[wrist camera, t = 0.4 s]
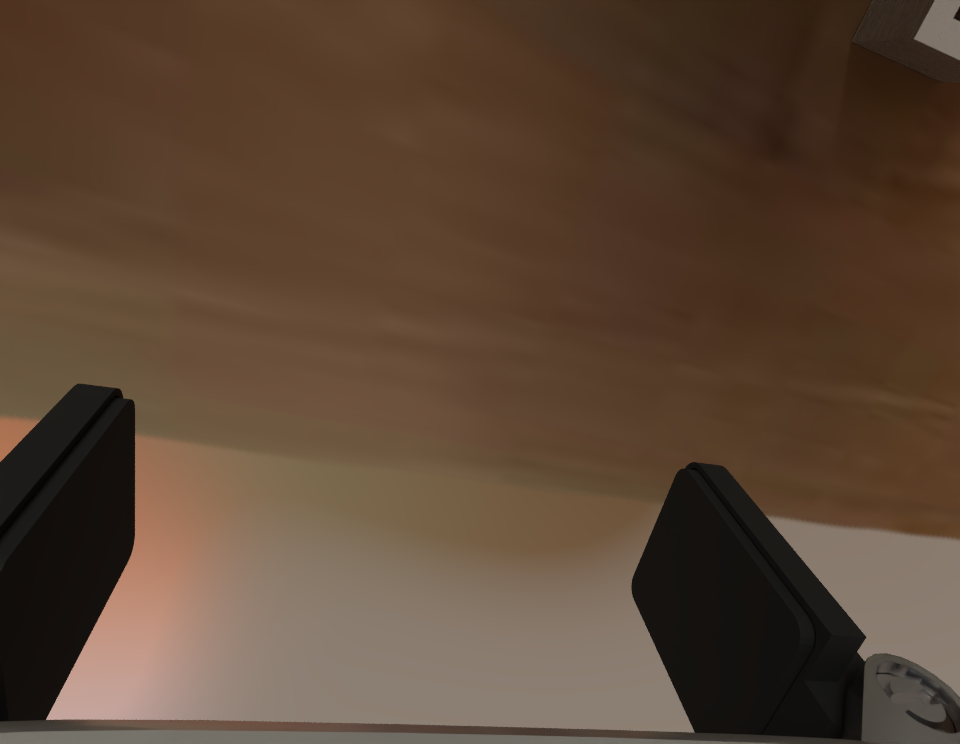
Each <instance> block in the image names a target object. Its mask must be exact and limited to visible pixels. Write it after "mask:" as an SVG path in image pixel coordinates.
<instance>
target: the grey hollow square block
mask: <svg viewBox="0 0 960 744" xmlns="http://www.w3.org/2000/svg"><path fill="white" fill-rule="evenodd" d="M958 8H959V9H958ZM957 10H958V11H957ZM956 12H957V13H956ZM953 17H954V18H953ZM851 42H853V43H855V44H858V45H860V46H862V47H864V48H866V49H869V50H871V51H873V52H875V53H877V54H880V55H882V56H884V57H886V58H888V59H891V60H893V61H895V62H897V63H900V64H902V65H904V66H906V67H908V68H911V69H913V70H915V71H917V72H919V73H922V74H924V75H926V76H928V77H931V78H933V79H935V80H937V81H939V82H945V83H960V0H872V1H871V3H870V5H869V7H868V9H867V11H866V13H865V15H864V17H863V19H862V21H861V23H860V25H859V27H858V29H857V31H856V33H855V35H854V37H853V39H852V41H851Z"/></svg>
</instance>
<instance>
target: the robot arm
mask: <svg viewBox="0 0 960 744" xmlns="http://www.w3.org/2000/svg"><path fill="white" fill-rule="evenodd" d="M134 538H135V405H134V401H133V400H131V399H123V395H122V391H121V390H120V389H118V388H110V387H102V386H94V385H87V384H77V385H75V386H74V387H73V388H72V389H71V390H70V391H69V392H68V393H67V394H66V395H65V396H64V397H63V398H62V399H61V400H60V401H59V402H58V403H57V404H56V405H55V406H54V407H53V408H52V409H51V410H50V411H49V413H48V414H47V415H46V416H45V417H44V418H43V419H42V420H41V421H40V422H39V423H38V424H37V425H36V426H35V427H34V428H33V429H32V430H31V431H30V432H29V433H28V434H27V435H26V436H25V437H24V438H23V439H22V441H21V442H19V443H18V445H17V446H16V447H15V448H14V449H13V450H12V451H11V452H10V453H9V454H8V455H7V456H6V457H5V458H4V459H3V460H2V461H1V462H0V744H960V697H959V696H958V695H957V694H956V693H955V692H954V691H953V690H952V689H951V688H950V687H949V686H948V685H947V684H946V683H944V682H943V681H942V680H940V679H939V678H938V677H937V676H935V675H934V674H932V673H931V672H929V671H928V670H926V669H924V668H923V667H921V666H919V665H918V664H916V663H913V662H911V661H909V660H907V659H904V658H902V657H899V656H895V655H890V654H874V655H872V656H870V657H868V658H867V660H866V661H864V660H863V659H862V658H861V657H860V655H859V654H858V653H857V651H858V649H859V648H860V646H861V645H862V643H863V641H864V640H865V639H866V636H865V635H864V634H863V632H861V630H860V629H859V628H858V626H857V625H856V624H855V623H854V622H853V620H852V619H851V618H850V617H849V616H848V615H847V613H846V612H845V611H844V610H843V609H842V607H841V606H840V605H839V604H838V602H837V601H836V600H835V599H834V598H833V597H832V595H831V594H830V593H829V592H828V590H827V589H826V588H825V587H824V586H823V584H822V583H821V582H820V581H819V580H818V578H817V577H816V576H815V575H814V574H813V573H812V571H811V570H810V569H809V568H808V566H807V565H806V564H805V563H804V562H803V560H802V559H801V558H800V557H799V556H798V555H797V553H796V552H795V551H794V550H793V548H792V547H791V546H790V545H789V544H788V542H787V541H786V540H785V539H784V538H783V536H782V535H781V534H780V533H779V532H778V531H777V529H776V528H775V527H774V526H773V524H772V523H771V522H770V521H769V520H768V518H767V517H766V516H765V515H764V514H763V512H762V511H761V510H760V509H759V508H758V506H757V505H756V504H755V503H754V502H753V500H752V499H751V498H750V497H749V496H748V494H747V493H746V492H745V491H744V490H743V488H742V487H741V486H740V485H739V484H738V482H737V481H736V480H735V479H734V478H733V476H732V475H731V474H730V473H729V472H728V470H727V469H726V468H724V467H723V466H719V465H712V464H704V463H696V462H692V463H690V464H689V465H688V466H686V468H685V469H680V470H679V471H678V472H677V474H676V476H675V478H674V481H673V483H672V486H671V488H670V490H669V493H668V495H667V497H666V500H665V502H664V505H663V507H662V509H661V512H660V514H659V516H658V519H657V521H656V524H655V526H654V529H653V531H652V533H651V535H650V538H649V540H648V543H647V545H646V547H645V550H644V552H643V555H642V557H641V559H640V562H639V564H638V566H637V569H636V571H635V573H634V576H633V579H632V595H633V598H634V601H635V603H636V605H637V607H638V609H639V612H640V614H641V616H642V618H643V620H644V622H645V625H646V627H647V629H648V631H649V633H650V636H651V638H652V640H653V642H654V644H655V646H656V649H657V651H658V653H659V655H660V657H661V659H662V662H663V664H664V666H665V668H666V670H667V673H668V675H669V677H670V679H671V681H672V684H673V686H674V688H675V690H676V692H677V694H678V696H679V699H680V701H681V703H682V705H683V707H684V710H685V712H686V714H687V716H688V718H689V721H690V723H691V725H692V727H693V729H694V732H695V733H686V732H657V731H656V732H655V731H627V730H593V729H591V730H590V729H557V728H522V727H483V726H445V725H407V724H359V723H312V722H263V721H261V722H260V721H216V720H211V721H210V720H46V718H47V716H48V714H49V712H50V711H51V708H52V707H53V705H54V703H55V701H56V699H57V697H58V695H59V693H60V691H61V689H62V688H63V686H64V684H65V682H66V680H67V678H68V676H69V674H70V672H71V670H72V668H73V666H74V664H75V663H76V660H77V659H78V657H79V655H80V653H81V651H82V649H83V647H84V645H85V643H86V641H87V639H88V637H89V636H90V634H91V631H92V630H93V628H94V626H95V624H96V622H97V620H98V618H99V616H100V614H101V612H102V610H103V609H104V607H105V605H106V603H107V601H108V599H109V597H110V595H111V593H112V591H113V589H114V588H115V586H116V584H117V582H118V580H119V578H120V576H121V574H122V572H123V570H124V568H125V566H126V565H127V562H128V560H129V558H130V556H131V553H132V549H133V545H134Z"/></svg>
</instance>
